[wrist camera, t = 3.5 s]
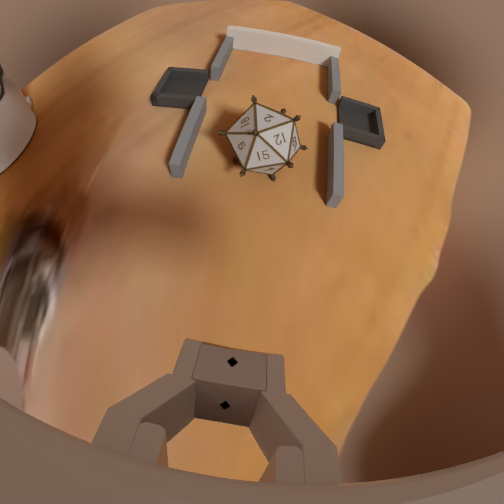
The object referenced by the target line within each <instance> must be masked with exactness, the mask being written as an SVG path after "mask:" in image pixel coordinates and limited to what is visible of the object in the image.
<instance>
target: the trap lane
mask: <svg viewBox="0 0 504 504" xmlns="http://www.w3.org/2000/svg"><path fill="white" fill-rule="evenodd" d="M232 49H240V50H247V51H254V52H260V53H266V54H271V55H277V56H282V57H287V58H292V59H296V60H301V61H305V62H310V63H314V64H318V65H322V66H325V67H327V70H328V102H330V103H334V104H336V103H337V100H338V98H339V96H340V93H341V84H340V71H339V60H338V57H339V55H340V52H341V49H340V47H338V46H334V45H330V44H327V43H323V42H319V41H315V40H311V39H307V38H302V37H298V36H293V35H288V34H283V33H278V32H272V31H266V30H260V29H253V28H246V27H238V26H228V28H227V36H226V38H225V40H224V42H223V44H222V46H221V47H220V49H219V51H218V53H217V55H216V57H215V59H214V61H213V63H212V65H211V80H217V81H219V79H220V77H221V74H222V72H223V70H224V67H225V65H226V63H227V61H228V58H229V56H230V54H231V52H232ZM208 80H209V70H202V69H191V68H176V67H168V69H167V71H166V72H165V74H164V75H163V77H162V79H161V80H160V82H159V83H158V85H157V87H156V88H155V90H154V92H153V94H152V95H151V99H152V105H153V106H161V107H173V108H183V109H191V110H190V113H189V115H188V117H187V120H186V122H185V124H184V127H183V129H182V131H181V134H180V136H179V139H178V141H177V144H176V146H175V149H174V151H173V154H172V156H171V159H170V162H169V166H170V171H171V176H172V177H177V178H182V177H183V174H184V171H185V168H186V165H187V162H188V159H189V156H190V154H191V151H192V148H193V145H194V143H195V140H196V137H197V134H198V132H199V129H200V126H201V124H202V121H203V119H204V116H205V113H206V97H201V95H202V93H203V91H204V89H205V86H206V84H207V82H208ZM338 119H339V123H336V122H334V123H333V125H332V127H331V129H330V132H329V134H328V166H327V193H326V206H330V207H334V208H336V207H337V206H338V204H339V203H340V202H341V200H342V199H343V197H344V144H343V139H346V140H350V141H353V142H357V143H360V144H364V145H367V146H370V147H373V148H377V149H381V147H382V146H383V144H384V143H385V136H384V129H383V123H382V117H381V112H380V108H378V107H376V106H373V105H370V104H366V103H363V102H360V101H357V100H354V99H350V98H347V97H344V96H341V99H340V101H339V103H338Z"/></svg>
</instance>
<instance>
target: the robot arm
mask: <svg viewBox="0 0 504 504" xmlns="http://www.w3.org/2000/svg"><path fill="white" fill-rule="evenodd" d="M31 107H32V100H31V99H30V97H29V96H26V97H24V96H23V94H22V93H21V91H20V90H19V88H18V87H17V85H16V84H15V82H14V81H13V79H12V78H11V77H10V75H9V74H7V73H3V69H2V67H1V65H0V173H1V172H3V171H4V170H5V169H6V168H7V167H8V166H9V165H11V164H12V163H13V161H14V160H15V159H16V158H17V157H18V156H19V155H20V153H21V152H22V151H23V150H24V148H25V147H26V145H27V144H28V142H29V140H30V138H31V137H32V134H33V132H34V129H35V126H36V116H35V113H34V112H33V111H32V109H31ZM194 418H198V419H204V420H210V421H217V422H223V423H228V424H234V425H240V426H246V427H249V429H250V431H251V433H252V434H253V436H254V438H255V440H256V441H257V443H258V445H259V447H260V448H261V450H262V452H263V453H264V455H265V457H266V458H267V460H268V462H269V464H268V466H267V468H266V470H265V471H264V473H263V475H262V477H261V478H260V480H259V482H253V481H244V480H236V479H228V478H221V477H215V476H209V475H203V474H198V473H192V472H188V471H183V470H178V469H174V468H170V467H168V456H167V442H169V441H170V440H171V439H172V438H173V437H174V436H175V435H177V434H178V433H179V432H180V431H181V430H182V429H183V428H185V427H186V426H187V425H188V424H189V423H190V422H191V421H192V420H193V419H194ZM0 504H504V451H503V452H501V453H498V454H495V455H492V456H489V457H486V458H483V459H480V460H477V461H473V462H470V463H467V464H463V465H459V466H455V467H452V468H448V469H443V470H440V471H435V472H430V473H425V474H420V475H415V476H409V477H403V478H396V479H389V480H382V481H372V482H361V483H346V484H342V482H341V475H340V468H339V460H338V453H337V447H336V446H335V445H334V444H333V442H332V441H331V440H330V439H329V438H328V437H327V436H326V435H325V434H324V432H323V431H322V430H321V429H320V428H319V427H318V426H317V425H316V423H315V422H314V421H313V420H312V419H311V418H310V417H309V415H308V414H307V413H306V412H305V411H304V410H303V409H302V407H301V406H300V405H299V404H298V403H297V402H296V400H295V399H294V398H293V397H292V396H291V395H290V394H286V391H285V370H284V357H283V355H280V354H272V353H262V352H255V351H249V350H243V349H236V348H231V347H226V346H221V345H216V344H212V343H207V342H201V341H197V340H192V339H188V338H186V339H185V341H184V343H183V346H182V349H181V351H180V354H179V357H178V360H177V363H176V365H175V368H174V371H173V374H168V373H167V374H166V375H164V376H163V377H161V378H159V379H158V380H156V381H154V382H153V383H151V384H149V385H148V386H146V387H144V388H143V389H141V390H139V391H137V392H136V393H134V394H132V395H131V396H129V397H127V398H125V399H124V400H122V401H120V402H119V403H117V404H115V405H113V406H111V407H110V408H108V409H107V411H106V414H105V416H104V418H103V420H102V422H101V424H100V426H99V428H98V430H97V433H96V435H95V437H94V439H93V441H92V443H90V442H87V441H85V440H82V439H80V438H77V437H75V436H73V435H70V434H68V433H66V432H64V431H61V430H59V429H57V428H55V427H53V426H51V425H49V424H47V423H45V422H42V421H41V420H39V419H37V418H35V417H33V416H31V415H29V414H27V413H25V412H23V411H22V410H20V409H18V408H16V407H14V406H13V405H11V404H9V403H7V402H6V401H4V400H3V399H1V398H0Z"/></svg>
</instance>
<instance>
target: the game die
mask: <svg viewBox="0 0 504 504" xmlns="http://www.w3.org/2000/svg"><path fill="white" fill-rule="evenodd" d="M256 101H257V100H256V97H255V96H254V95H253V96H252V102H253V104H252V105H251V106H250V107H249V108H248V109H247V110H246V111H245V112H244V113H243V114H242V116H241V117H240V118H239V119H238V120H237V121H236V122H235V123H234V124H233V125H232V126H231V127H230V128H229V129H228V130H227V131H226V132H224V131H218V132H217V133H218V134H219V135H222V136H223V135H226V137H227V139H228V141H229V143H230V145H231V147H232V149H233V151H234V153H235V154H236V156H237V157H235V158H233V161H234V162H236V161H238V160H239V162H240V164H241V166H242V168H243V170H241V172H240V177H241V176H245V174H246V171H251V172H258V173H264V174H270V175H271V180H273V181H275V179H276V178H275V175H274V174H275V173H276V172H278V171H279V170H280V169H281V168H283V167H284V166H285V165H287V166H288V167H289V168H293V164H292V162H290V160H291V159H292V158H293V157H294V155H295V154H296V153H297V152H298V150H299V149H302V150H306V149H308V148H307V147H306V146H303V145H302V146H301V145H300V141H299V137H298V132H297V128H296V124H295V121H298V120H300V117H301V116H296V117H294V119H293V118H291V117H289V116H287V115H285V114H284V113H285V112H286V110H285V109H281V112H279V111H276V110H274V109H271V108H269V107H266V106H264V105H261V104H258V103H257V102H256Z"/></svg>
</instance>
